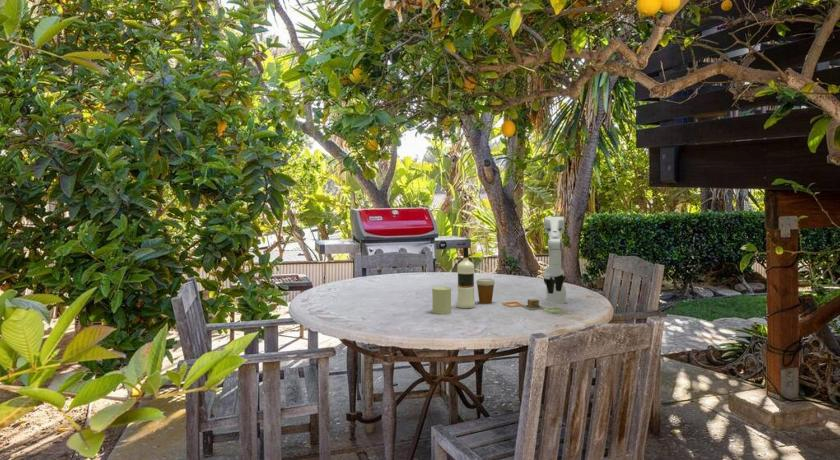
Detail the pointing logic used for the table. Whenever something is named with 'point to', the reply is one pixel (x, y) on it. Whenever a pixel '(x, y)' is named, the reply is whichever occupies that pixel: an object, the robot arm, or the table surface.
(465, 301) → the vodka
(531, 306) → the letter cube
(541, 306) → the slate dish
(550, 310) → the sage dish
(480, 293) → the disposable coffee cup
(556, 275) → the robot arm
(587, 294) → the table surface
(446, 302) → the can
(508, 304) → the terracotta dish
